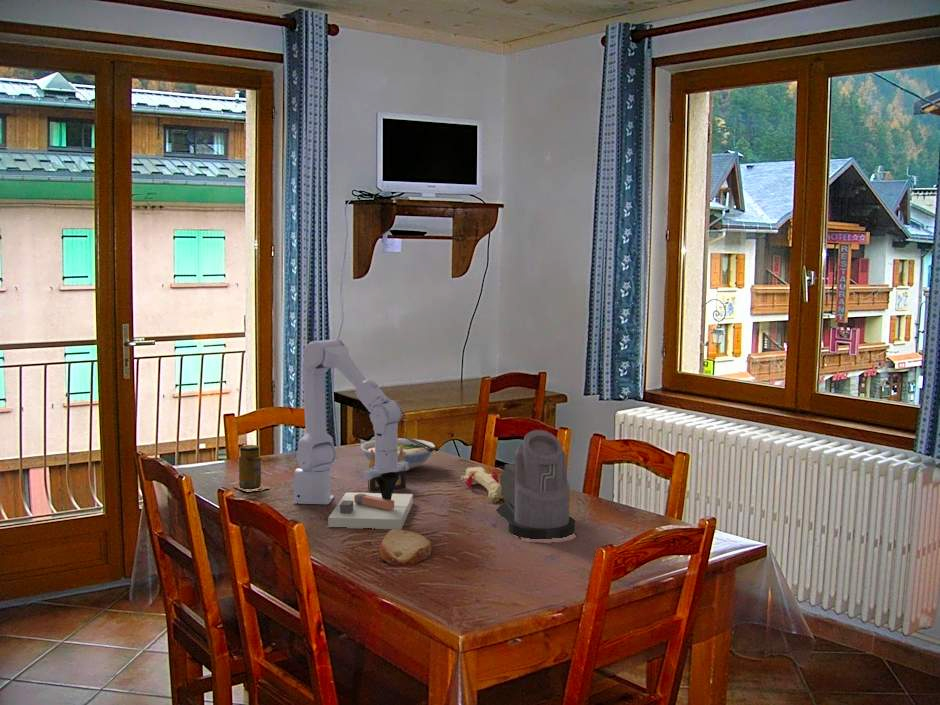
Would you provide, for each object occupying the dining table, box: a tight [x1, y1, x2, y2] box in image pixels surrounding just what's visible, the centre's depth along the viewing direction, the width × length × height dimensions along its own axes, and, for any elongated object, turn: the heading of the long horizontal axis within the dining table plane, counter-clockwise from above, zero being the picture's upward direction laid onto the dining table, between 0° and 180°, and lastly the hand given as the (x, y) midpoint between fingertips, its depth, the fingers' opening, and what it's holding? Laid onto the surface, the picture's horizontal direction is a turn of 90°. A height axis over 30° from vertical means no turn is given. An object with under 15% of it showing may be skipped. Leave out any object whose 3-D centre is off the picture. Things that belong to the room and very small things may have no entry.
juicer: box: [495, 429, 576, 539], centre depth 248 cm, size 30×16×24 cm, turn 15°
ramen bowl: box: [360, 435, 439, 472], centre depth 307 cm, size 25×23×8 cm
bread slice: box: [378, 529, 432, 567], centre depth 229 cm, size 18×18×4 cm
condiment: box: [238, 444, 262, 489], centre depth 282 cm, size 7×8×12 cm
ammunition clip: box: [367, 446, 406, 492], centre depth 283 cm, size 11×2×12 cm, turn 114°
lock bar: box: [354, 494, 394, 510], centre depth 256 cm, size 12×3×2 cm, turn 56°
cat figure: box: [460, 466, 507, 504], centre depth 282 cm, size 10×9×25 cm
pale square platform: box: [327, 492, 414, 530], centre depth 257 cm, size 18×24×5 cm
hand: (386, 501), depth 256 cm, fingers closed
